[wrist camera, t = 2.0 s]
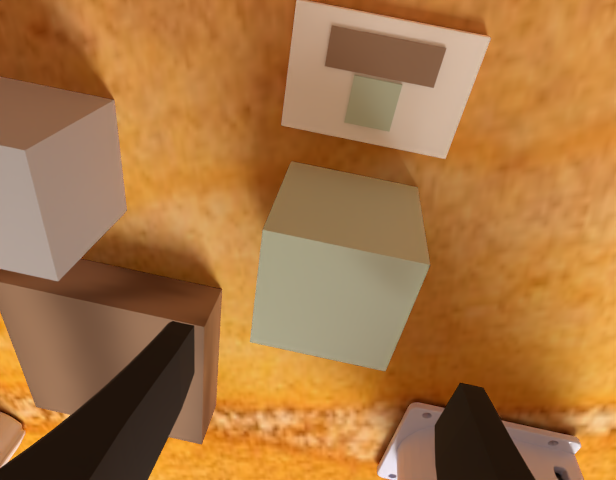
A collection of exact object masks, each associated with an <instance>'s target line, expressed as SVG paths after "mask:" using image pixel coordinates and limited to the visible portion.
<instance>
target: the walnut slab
mask: <svg viewBox="0 0 616 480" xmlns="http://www.w3.org/2000/svg"><path fill="white" fill-rule="evenodd" d="M221 299H222V289H219V288H214V287H209V286H205V285H200V284H196V283H191V282H186V281H182V280H177V279H172V278H168V277H163V276H159V275H154V274H149V273H145V272H140V271H135V270H131V269H126V268H122V267H117V266H112V265H108V264H103V263H98V262H94V261H89V260H84V259H80V260H79V261H78V262H77V263H76V264H75V265H74V266H73V267H72V268H71V269H70V270H69V271H68V272H67V273H66V274H65V275H64V276H63V277H62V278H61V279H60V280H59V281H54V280H49V279H45V278H40V277H36V276H31V275H26V274H22V273H17V272H13V271H8V270H3V269H0V312H1V315H2V317H3V320H4V323H5V325H6V328H7V331H8V333H9V336H10V339H11V341H12V344H13V347H14V349H15V352H16V355H17V357H18V360H19V362H20V365H21V368H22V370H23V373H24V376H25V378H26V381H27V384H28V386H29V389H30V392H31V394H32V397H33V400H34V402H35V405H36V407H39V408H43V409H48V410H52V411H56V412H61V413H65V414H70V415H72V414H73V413H74V412H75V411H76V410H78V409H79V408H80V407H81V406H82V405H83V404H85V403H86V402H87V401H88V400H89V399H90V398H92V397H93V396H94V395H95V394H96V393H97V392H99V391H100V390H101V389H102V388H103V387H104V386H105V385H107V384H108V383H109V382H110V381H111V380H112V379H113V378H114V377H115V376H116V375H117V374H118V373H119V372H120V371H122V370H123V369H124V368H125V367H126V366H127V365H128V364H129V363H130V362H131V361H132V360H133V359H134V358H135V357H136V356H137V355H138V354H139V353H140V352H141V351H142V350H143V349H144V348H145V347H146V346H147V345H148V344H149V343H150V342H151V341H152V340H153V339H154V338H155V337H156V336H157V335H158V334H159V333H160V332H161V331H162V329H163V328H164V327H165V326H166V325H167V324H168V323H169V322H171V321H175V322H180V323H184V324H189V325H194V341H195V373H194V376H193V379H192V382H191V385H190V388H189V390H188V393H187V396H186V399H185V401H184V404H183V407H182V410H181V412H180V414H179V416H178V418H177V420H176V422H175V424H174V426H173V428H172V431H171V433H170V435H169V437H171V438H176V439H180V440H185V441H189V442H193V443H198V444H202V442H203V440H204V437H205V434H206V431H207V429H208V426H209V423H210V420H211V418H212V415H213V412H214V409H215V406H216V395H217V376H218V356H219V337H220V318H221Z"/></svg>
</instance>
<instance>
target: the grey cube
mask: <svg viewBox="0 0 616 480" xmlns="http://www.w3.org/2000/svg"><path fill="white" fill-rule="evenodd" d="M126 211H127V207H126V199H125V190H124V181H123V172H122V163H121V154H120V145H119V136H118V127H117V118H116V110H115V101H114V100H112V99H108V98H103V97H98V96H93V95H88V94H83V93H78V92H73V91H69V90H64V89H59V88H54V87H49V86H44V85H39V84H34V83H29V82H25V81H20V80H15V79H10V78H5V77H0V269H3V270H8V271H13V272H17V273H22V274H26V275H31V276H36V277H40V278H45V279H49V280H54V281H59V280H60V279H61V278H62V277H63V276H64V275H65V274H66V273H67V272H68V271H69V270H70V269H71V268H72V267H73V266H74V265H75V264H76V263H77V262H78V261H79V260H80V259H81V257H82V256H83V255H84V254H85V253H86V252H87V251H88V250H89V249H90V248H91V247H92V246H93V245H94V244H95V243H96V242H97V241H98V240H99V239H100V238H101V237H102V236H103V235H104V234H105V233H106V232H107V231H108V230H109V229H110V228H111V227H112V226H113V225H114V224H115V222H116V221H117V220H118V219H119V218H120V217H121V216H122V215H123V214H124V213H125V212H126Z"/></svg>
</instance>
